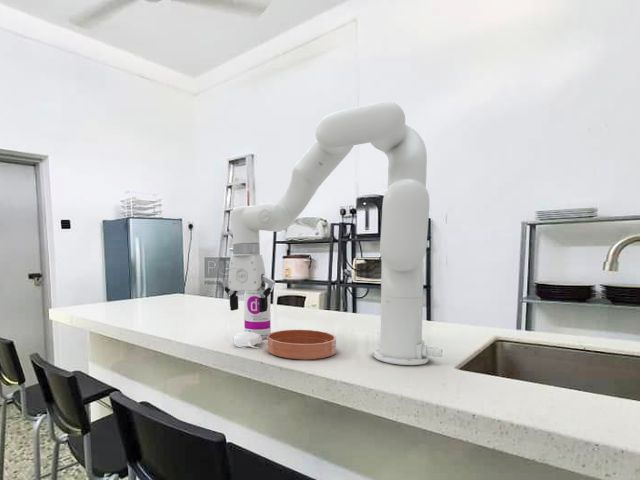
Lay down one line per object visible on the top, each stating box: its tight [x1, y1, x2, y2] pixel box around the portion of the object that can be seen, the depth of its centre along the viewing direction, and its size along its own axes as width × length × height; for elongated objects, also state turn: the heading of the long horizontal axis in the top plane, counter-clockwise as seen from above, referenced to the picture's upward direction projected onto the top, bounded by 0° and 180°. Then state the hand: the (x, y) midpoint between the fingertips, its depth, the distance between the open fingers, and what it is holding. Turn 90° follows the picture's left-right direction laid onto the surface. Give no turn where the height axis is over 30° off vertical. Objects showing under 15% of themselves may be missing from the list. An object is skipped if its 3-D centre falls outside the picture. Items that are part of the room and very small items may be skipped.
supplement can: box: [243, 291, 272, 340], centre depth 123 cm, size 8×8×15 cm
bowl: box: [266, 329, 337, 361], centre depth 105 cm, size 18×18×4 cm
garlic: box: [233, 331, 263, 349], centre depth 112 cm, size 8×7×4 cm
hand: (248, 310), depth 112 cm, fingers open, 9 cm apart
